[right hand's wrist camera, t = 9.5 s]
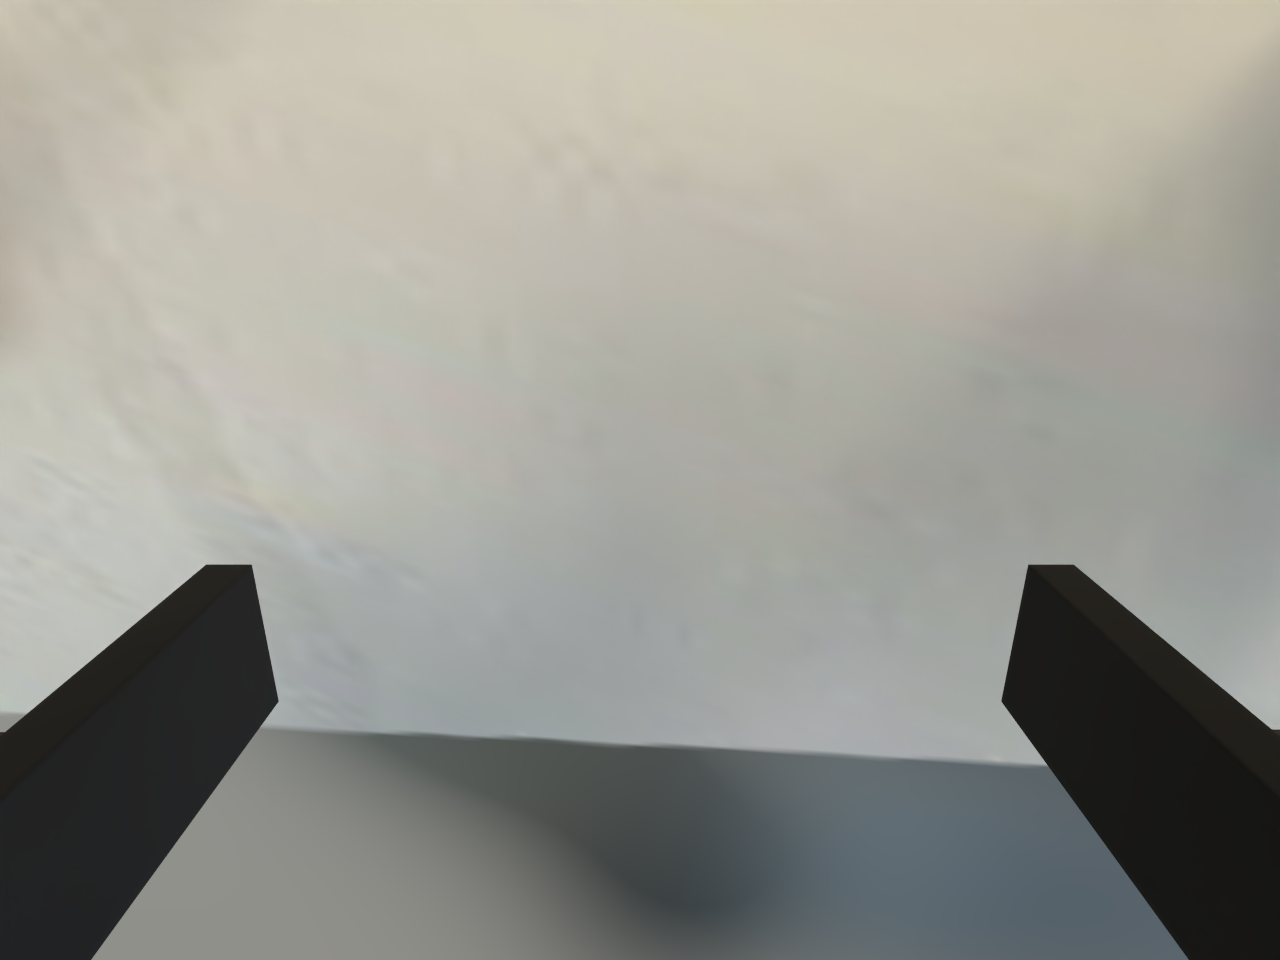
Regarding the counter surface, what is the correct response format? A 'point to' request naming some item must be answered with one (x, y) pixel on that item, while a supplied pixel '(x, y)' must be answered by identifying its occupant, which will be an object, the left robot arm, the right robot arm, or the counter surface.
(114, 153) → the counter surface
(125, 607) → the counter surface
